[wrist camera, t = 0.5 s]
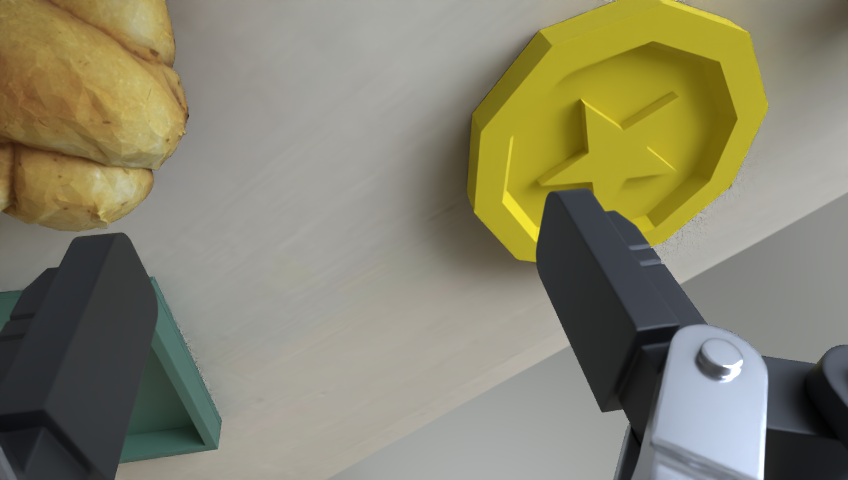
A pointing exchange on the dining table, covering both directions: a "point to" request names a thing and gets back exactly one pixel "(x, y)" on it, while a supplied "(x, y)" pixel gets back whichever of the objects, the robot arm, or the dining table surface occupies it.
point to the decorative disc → (617, 119)
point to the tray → (162, 395)
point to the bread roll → (85, 108)
